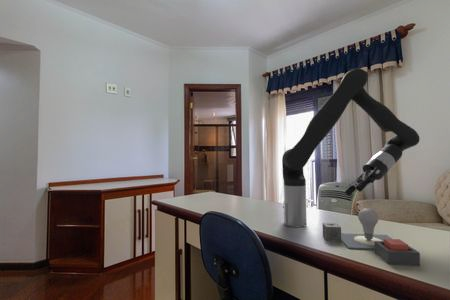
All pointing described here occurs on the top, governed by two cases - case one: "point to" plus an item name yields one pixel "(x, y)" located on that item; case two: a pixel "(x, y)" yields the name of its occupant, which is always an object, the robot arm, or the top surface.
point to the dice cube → (331, 232)
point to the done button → (395, 244)
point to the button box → (397, 255)
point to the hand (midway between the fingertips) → (351, 192)
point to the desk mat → (361, 241)
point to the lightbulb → (368, 221)
